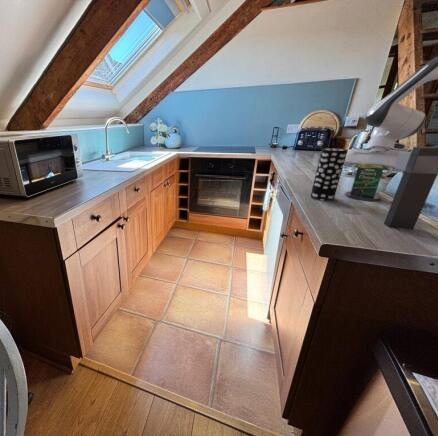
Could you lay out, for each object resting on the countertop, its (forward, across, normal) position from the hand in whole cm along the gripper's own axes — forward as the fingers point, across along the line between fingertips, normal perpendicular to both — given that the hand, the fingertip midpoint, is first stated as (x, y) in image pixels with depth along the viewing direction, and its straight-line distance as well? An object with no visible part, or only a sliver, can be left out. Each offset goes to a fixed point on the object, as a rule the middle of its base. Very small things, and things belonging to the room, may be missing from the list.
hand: (368, 176), depth 101 cm
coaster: (+7, 0, +5) cm, 9 cm away
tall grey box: (+26, +11, -14) cm, 32 cm away
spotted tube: (+16, -12, -3) cm, 20 cm away
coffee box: (+7, 0, +5) cm, 8 cm away
